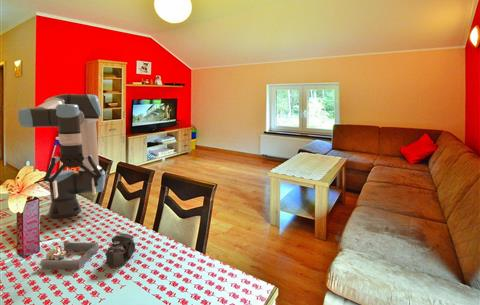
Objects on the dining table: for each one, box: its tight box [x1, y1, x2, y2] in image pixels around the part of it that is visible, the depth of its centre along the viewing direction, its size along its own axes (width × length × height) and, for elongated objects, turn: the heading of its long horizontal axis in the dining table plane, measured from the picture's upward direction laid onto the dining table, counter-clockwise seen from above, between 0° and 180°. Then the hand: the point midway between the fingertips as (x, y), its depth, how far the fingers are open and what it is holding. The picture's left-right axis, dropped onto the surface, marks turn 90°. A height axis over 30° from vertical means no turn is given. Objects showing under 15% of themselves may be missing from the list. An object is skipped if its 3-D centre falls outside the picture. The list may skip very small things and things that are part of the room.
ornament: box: [45, 246, 67, 260], centre depth 111 cm, size 8×7×4 cm
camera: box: [104, 232, 136, 268], centre depth 111 cm, size 13×10×10 cm
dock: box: [40, 242, 100, 271], centre depth 111 cm, size 14×14×3 cm
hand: (75, 195), depth 114 cm, fingers open, 13 cm apart
